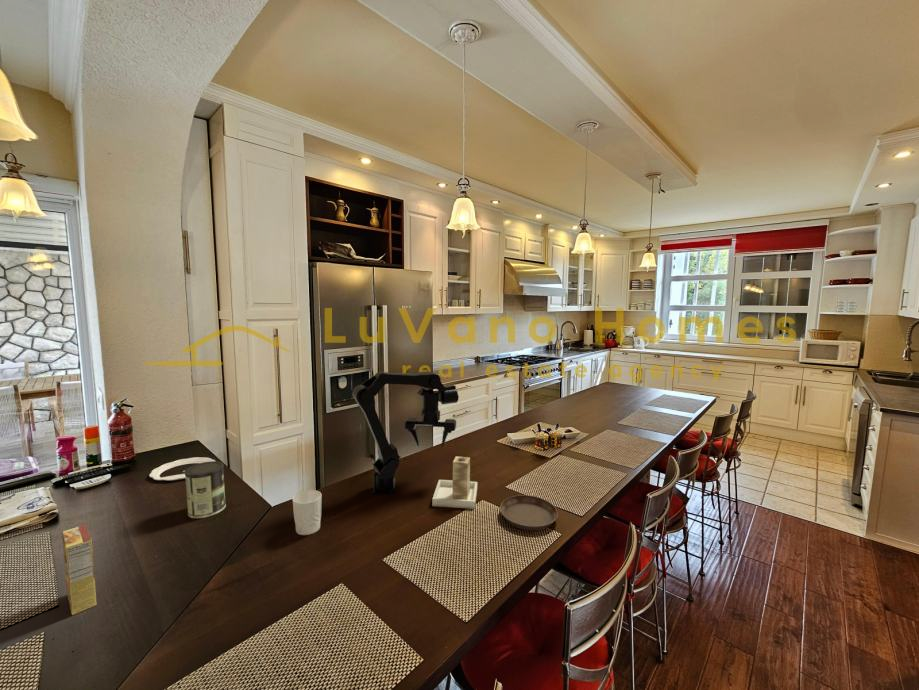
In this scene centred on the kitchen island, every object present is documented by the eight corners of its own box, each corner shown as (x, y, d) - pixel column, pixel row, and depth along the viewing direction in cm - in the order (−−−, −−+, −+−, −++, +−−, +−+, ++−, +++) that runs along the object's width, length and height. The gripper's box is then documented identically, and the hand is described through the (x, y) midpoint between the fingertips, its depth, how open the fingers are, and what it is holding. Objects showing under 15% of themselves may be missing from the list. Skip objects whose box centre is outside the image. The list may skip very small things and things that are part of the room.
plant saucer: (558, 538, 111) (559, 528, 110) (497, 530, 114) (497, 521, 114) (556, 507, 128) (556, 498, 127) (502, 501, 131) (502, 492, 131)
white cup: (328, 524, 116) (327, 492, 115) (310, 539, 109) (308, 505, 108) (306, 519, 119) (305, 488, 118) (287, 533, 111) (286, 500, 110)
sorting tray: (432, 506, 127) (432, 498, 127) (438, 486, 141) (438, 479, 141) (474, 508, 126) (474, 501, 125) (477, 488, 139) (477, 481, 139)
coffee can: (220, 498, 131) (217, 458, 129) (230, 509, 124) (227, 467, 122) (183, 510, 123) (180, 467, 122) (192, 522, 116) (189, 477, 115)
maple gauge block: (452, 499, 131) (452, 461, 129) (455, 492, 135) (455, 456, 134) (467, 500, 130) (467, 463, 128) (469, 493, 134) (470, 457, 133)
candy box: (66, 595, 87) (60, 531, 85) (92, 585, 90) (86, 523, 88) (71, 616, 81) (64, 548, 80) (98, 604, 84) (92, 538, 83)
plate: (225, 468, 155) (225, 464, 155) (164, 489, 137) (163, 484, 137) (200, 457, 166) (200, 453, 166) (140, 474, 148) (140, 470, 148)
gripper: (458, 401, 150) (457, 440, 152) (411, 399, 152) (411, 437, 154) (454, 408, 139) (454, 450, 141) (404, 406, 141) (404, 448, 143)
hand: (430, 446), depth 145 cm, fingers open, 9 cm apart
